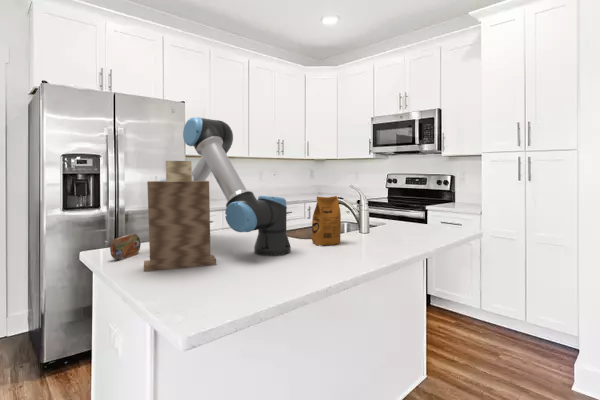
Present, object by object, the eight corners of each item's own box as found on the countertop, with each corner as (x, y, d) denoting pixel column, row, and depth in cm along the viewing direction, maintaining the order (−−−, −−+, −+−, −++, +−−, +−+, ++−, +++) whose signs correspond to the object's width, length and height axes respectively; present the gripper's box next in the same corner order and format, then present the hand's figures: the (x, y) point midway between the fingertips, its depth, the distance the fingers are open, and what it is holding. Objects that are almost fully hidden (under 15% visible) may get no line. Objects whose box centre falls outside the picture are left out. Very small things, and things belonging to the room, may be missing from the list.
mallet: (186, 179, 144) (186, 161, 143) (191, 181, 125) (191, 160, 124) (165, 180, 141) (164, 161, 140) (166, 181, 122) (166, 160, 121)
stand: (213, 260, 138) (212, 180, 135) (216, 264, 132) (214, 181, 129) (144, 266, 129) (141, 181, 127) (143, 271, 123) (140, 182, 120)
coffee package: (309, 242, 171) (309, 195, 169) (333, 240, 176) (333, 195, 174) (318, 246, 162) (318, 197, 160) (342, 244, 167) (343, 196, 165)
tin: (116, 262, 135) (115, 239, 134) (108, 261, 136) (107, 239, 135) (141, 253, 150) (140, 232, 149) (134, 252, 150) (134, 232, 150)
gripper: (202, 208, 165) (207, 187, 147) (142, 211, 156) (140, 188, 138) (201, 193, 168) (206, 170, 150) (142, 195, 159) (140, 170, 141)
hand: (174, 179), depth 144 cm, fingers open, 13 cm apart
